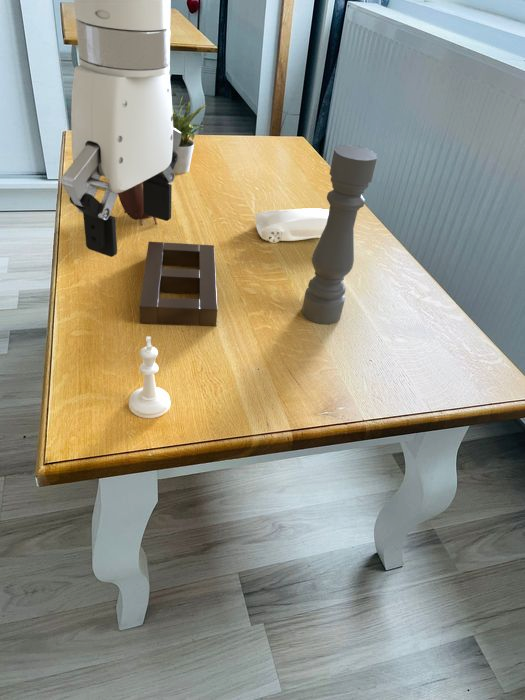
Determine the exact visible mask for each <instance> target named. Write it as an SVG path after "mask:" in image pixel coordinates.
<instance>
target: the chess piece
mask: <svg viewBox="0 0 525 700" xmlns="http://www.w3.org/2000/svg"><path fill="white" fill-rule="evenodd" d="M145 343H146V346H144V347H141V349H139V356H140V358H141V360H142V362H143V363H141V364H140V366H139V371H140V373H141V374H143V375H144V377H143V386H142V387H139V388H137V389H136V390H134V391H133V392H132V393H131V394H130V396H129V400H128V409H129V410H130V412H131V413H132V414H134V415H135V416H137V417H140V418H142V419H143V418H144V419H155V418H159V417H161V416H163V415H164V414H166V413H167V412H168V411H169V410H170V407H171V397H170V395H169V393H168V392H167V391H166V390H165V389H163V388H161V387H158V386H157V385H156V379H155V374H157V373H158V372H159V369H160V368H159V365H158V364H157V363H156V359H157V357H158V355H159V351H158V349H157V347H155V346H153V345H152V336H151V335H149V336H146V337H145Z"/></svg>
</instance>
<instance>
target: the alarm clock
mask: <svg viewBox="0 0 525 700" xmlns="http://www.w3.org/2000/svg"><path fill="white" fill-rule="evenodd" d="M117 197H118V199H119V203H120V204H121V206H122V209H123V210H124V212H123V213H124V214H127V216H129V218H131V219H132V220H134V221H139V225H140V227H142V226H143V220H147V219H150V218H153V221H154V225H156V226H157V225H158V224H159V223H158V221H157V218H155V217H152V216H149V215H146V214H144V210H143V182H141V183H139V184H138V185H136V186H134V187H132V188H130V189H128V190H126V191H123V192H121V193H118V195H117Z"/></svg>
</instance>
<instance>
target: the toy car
mask: <svg viewBox="0 0 525 700" xmlns="http://www.w3.org/2000/svg"><path fill="white" fill-rule="evenodd" d="M328 214H329V209H326V208H320V207H309V208H295V209H294V208H293V209H273V210H264V211H259V212H258V213H256V214H255V215H254V222H255V228H256V231H257V233H258V236H259V237H261V239H262V240H264V241H266V242H269V243H272V244H277V243H278V242H294V241H301V240H302V241H304V240H310V239H315V238H318V239H320V237H321V235H322V233H323V231H324V229H325V226H326V224H327V219H328Z"/></svg>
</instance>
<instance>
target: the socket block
mask: <svg viewBox="0 0 525 700" xmlns="http://www.w3.org/2000/svg"><path fill="white" fill-rule="evenodd" d="M215 255H216V254H215V245H214V244H212V245H211V244H199V243H197V244H196V243H183V242H182V243H181V242H180V243H179V242H164V241H163V242H162V241H148V243H147V250H146V257H145V264H144V270H143V271H144V272H143V277H142V285H141V286H142V287H141V293H140V299H139V300H140V301H139V305H138V307H139V309H138V310H139V324H140V325H168V326H169V325H172V326H174V325H175V326H196V327H197V326H199V327H217V323H218V294H217V293H218V292H217V276H216V274H217V271H216V257H215ZM164 266H167V267H164ZM169 266H170V267H171V268H170V267H169ZM172 267H173V268H172ZM174 267H185V268H174ZM186 267H187V268H186ZM189 267H190V268H198V269H190V268H189ZM162 293H165V294H184V295H198V298H179V297H178V298H177V297H161V294H162Z"/></svg>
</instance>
